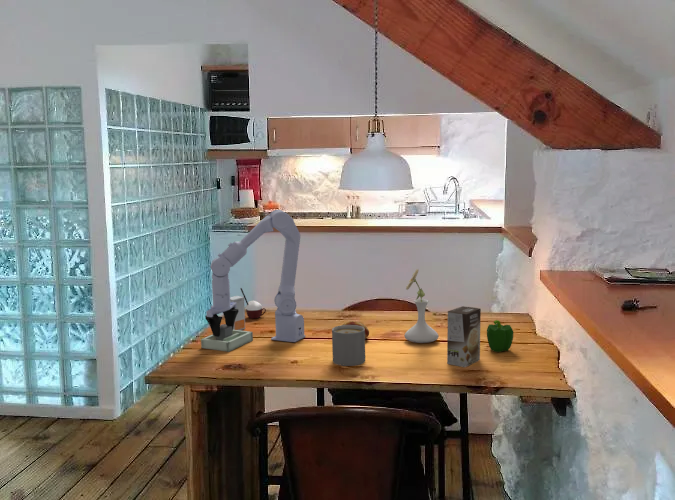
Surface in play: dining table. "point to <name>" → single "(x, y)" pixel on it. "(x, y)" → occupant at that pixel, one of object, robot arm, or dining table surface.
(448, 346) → the coffee box
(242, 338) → the grey-green rectangular frame
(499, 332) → the bell pepper
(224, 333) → the grey block with knob
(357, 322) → the croissant
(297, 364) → the dining table surface
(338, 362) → the coffee mug
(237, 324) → the skincare box
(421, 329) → the flower in vase
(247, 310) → the cocoa
